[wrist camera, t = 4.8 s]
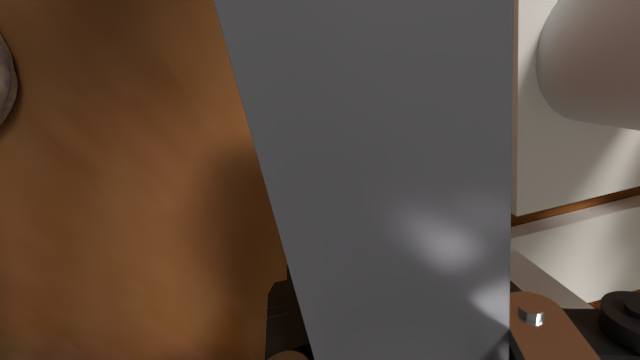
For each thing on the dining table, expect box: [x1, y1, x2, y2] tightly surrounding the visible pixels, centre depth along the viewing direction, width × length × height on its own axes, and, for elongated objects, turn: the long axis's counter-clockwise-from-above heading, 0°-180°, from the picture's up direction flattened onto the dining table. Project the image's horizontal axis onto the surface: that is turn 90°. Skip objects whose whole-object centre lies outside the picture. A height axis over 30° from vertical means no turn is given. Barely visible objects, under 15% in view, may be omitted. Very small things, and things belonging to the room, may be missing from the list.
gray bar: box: [213, 0, 514, 360], centre depth 10 cm, size 18×4×6 cm, turn 11°
